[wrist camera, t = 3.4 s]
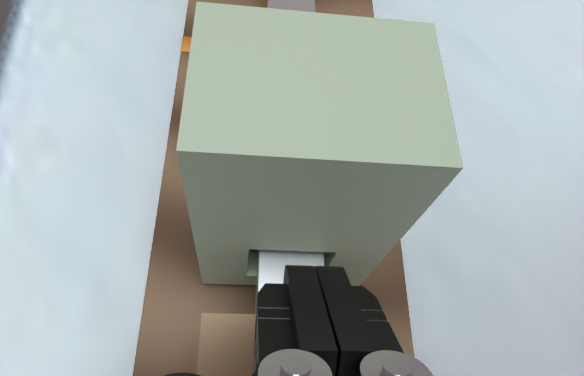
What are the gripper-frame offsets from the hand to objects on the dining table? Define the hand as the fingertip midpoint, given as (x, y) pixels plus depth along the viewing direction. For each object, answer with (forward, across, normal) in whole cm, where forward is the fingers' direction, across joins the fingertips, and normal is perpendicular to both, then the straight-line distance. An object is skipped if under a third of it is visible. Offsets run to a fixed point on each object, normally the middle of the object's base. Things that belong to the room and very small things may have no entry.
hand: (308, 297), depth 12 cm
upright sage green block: (+10, 0, +2) cm, 10 cm away
